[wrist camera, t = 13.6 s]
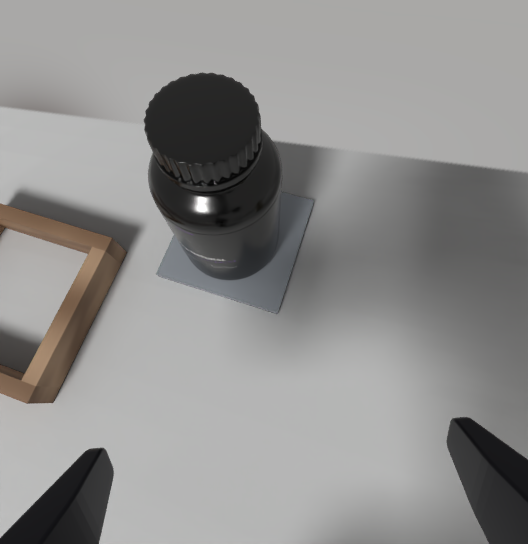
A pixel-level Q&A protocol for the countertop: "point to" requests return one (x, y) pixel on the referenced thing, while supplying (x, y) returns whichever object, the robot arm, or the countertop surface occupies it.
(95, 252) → the walnut holder
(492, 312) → the countertop surface
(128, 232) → the countertop surface
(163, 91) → the supplement bottle
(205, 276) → the slate mat
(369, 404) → the countertop surface
